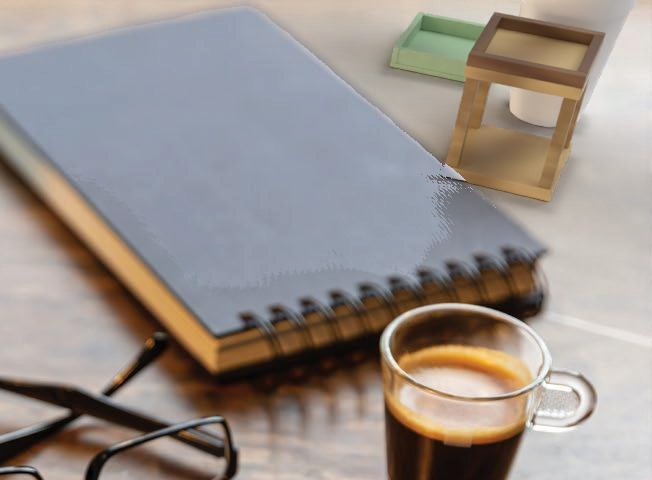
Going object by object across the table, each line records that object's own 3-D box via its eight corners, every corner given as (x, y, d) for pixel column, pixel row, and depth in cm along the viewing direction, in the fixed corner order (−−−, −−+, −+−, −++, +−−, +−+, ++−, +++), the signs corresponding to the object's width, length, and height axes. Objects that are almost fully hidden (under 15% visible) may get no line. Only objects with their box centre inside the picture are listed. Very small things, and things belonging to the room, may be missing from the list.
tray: (507, 48, 129) (512, 29, 128) (485, 86, 123) (490, 66, 122) (415, 30, 133) (419, 11, 131) (389, 66, 126) (393, 47, 125)
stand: (569, 153, 114) (606, 32, 106) (549, 202, 108) (586, 77, 100) (465, 130, 117) (494, 11, 110) (440, 176, 111) (468, 53, 104)
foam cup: (470, 107, 120) (504, -33, 112) (529, 78, 125) (566, -59, 116) (561, 146, 115) (604, 2, 106) (619, 114, 119) (664, -27, 110)
